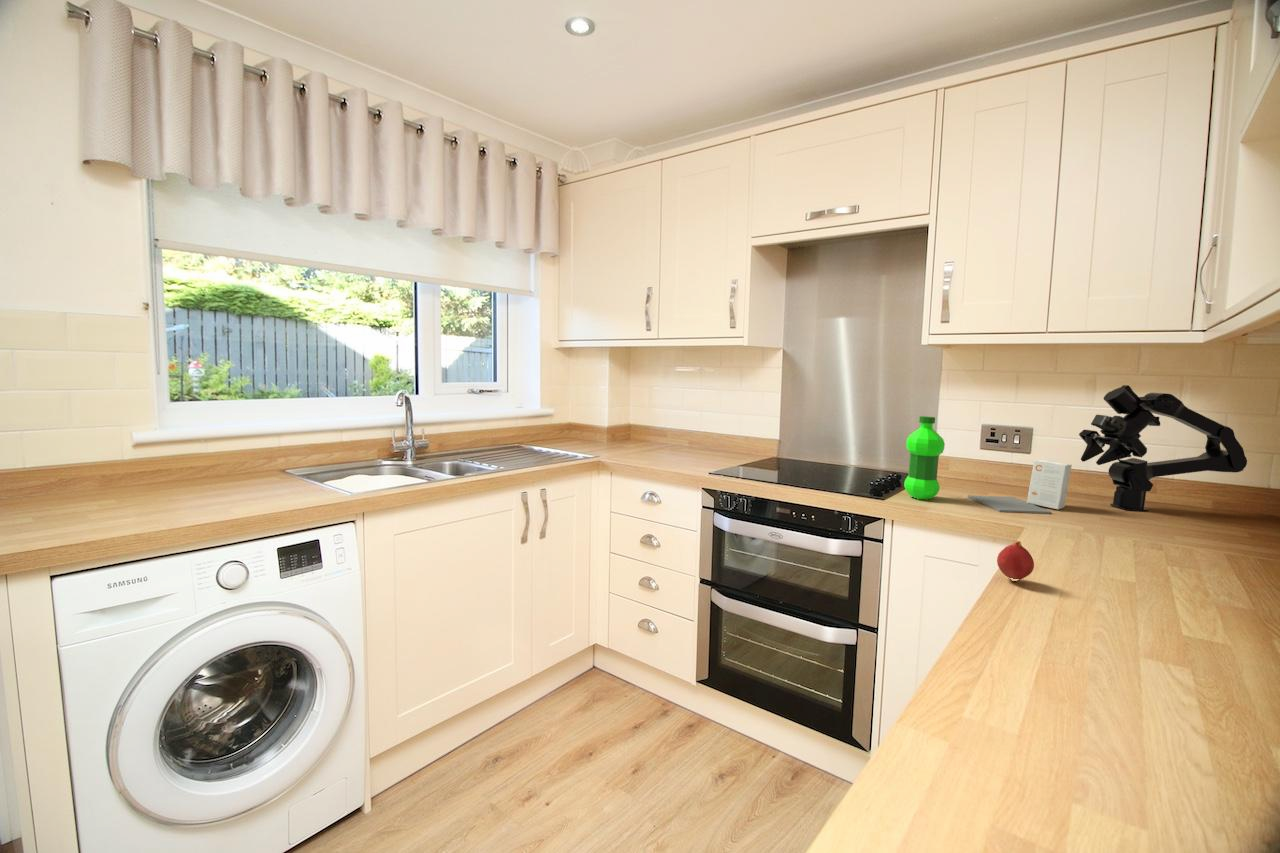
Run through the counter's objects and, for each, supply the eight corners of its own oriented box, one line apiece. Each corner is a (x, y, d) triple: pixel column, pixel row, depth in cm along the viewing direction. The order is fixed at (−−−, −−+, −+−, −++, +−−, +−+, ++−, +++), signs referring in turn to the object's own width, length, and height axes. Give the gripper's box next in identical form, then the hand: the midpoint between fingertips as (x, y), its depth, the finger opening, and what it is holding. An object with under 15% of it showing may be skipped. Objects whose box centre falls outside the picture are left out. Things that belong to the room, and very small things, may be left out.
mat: (1014, 498, 181) (1014, 497, 181) (1051, 513, 164) (1051, 511, 163) (967, 497, 182) (967, 495, 182) (999, 511, 164) (999, 509, 164)
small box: (1064, 508, 171) (1072, 464, 170) (1058, 510, 167) (1066, 465, 166) (1032, 501, 177) (1040, 459, 176) (1025, 503, 173) (1033, 459, 172)
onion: (989, 575, 113) (992, 535, 112) (1019, 576, 113) (1023, 536, 112) (1006, 586, 107) (1011, 544, 107) (1038, 588, 107) (1043, 545, 106)
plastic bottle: (920, 493, 186) (927, 415, 183) (947, 501, 176) (954, 418, 173) (894, 494, 182) (901, 415, 180) (920, 503, 172) (927, 418, 170)
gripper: (1088, 403, 179) (1049, 438, 180) (1142, 408, 160) (1098, 447, 161) (1110, 429, 180) (1071, 464, 181) (1166, 437, 161) (1122, 475, 162)
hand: (1089, 462), depth 171 cm, fingers open, 5 cm apart
